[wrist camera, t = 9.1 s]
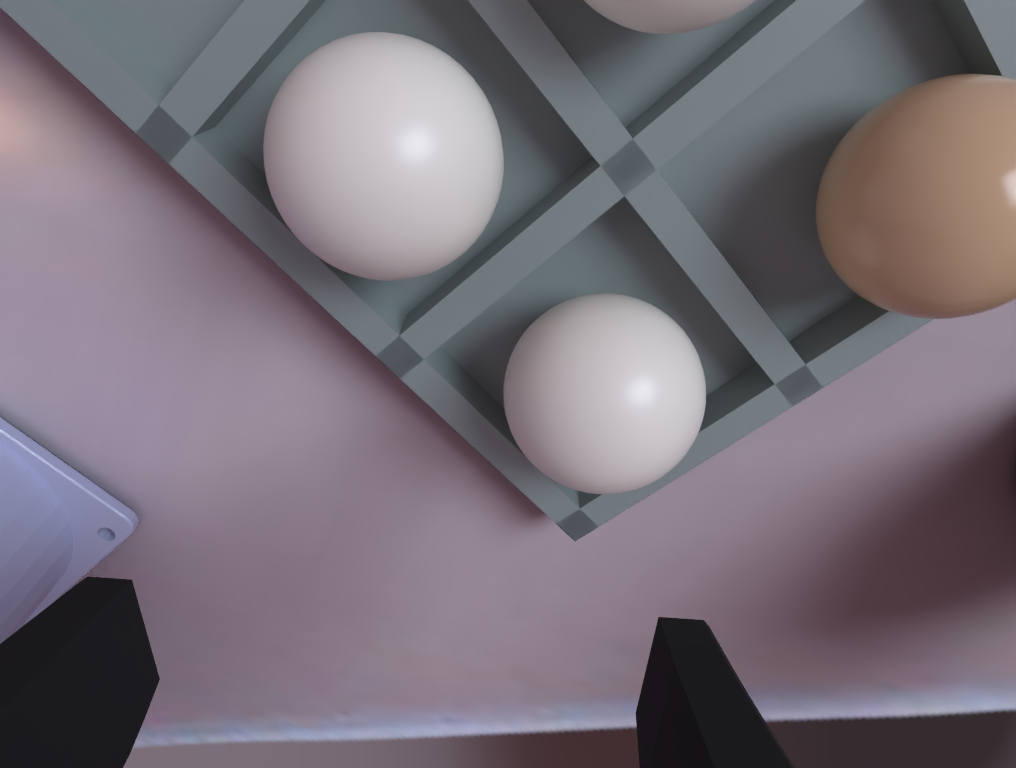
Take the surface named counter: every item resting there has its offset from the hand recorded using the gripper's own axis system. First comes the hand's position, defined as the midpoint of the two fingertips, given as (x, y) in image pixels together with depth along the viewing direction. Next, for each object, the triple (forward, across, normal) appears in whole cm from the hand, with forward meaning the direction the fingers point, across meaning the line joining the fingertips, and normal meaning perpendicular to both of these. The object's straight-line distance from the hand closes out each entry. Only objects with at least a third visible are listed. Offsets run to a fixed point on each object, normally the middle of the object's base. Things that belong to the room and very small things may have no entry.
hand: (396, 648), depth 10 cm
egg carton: (+9, -1, -7) cm, 12 cm away
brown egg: (+9, -8, -5) cm, 13 cm away
